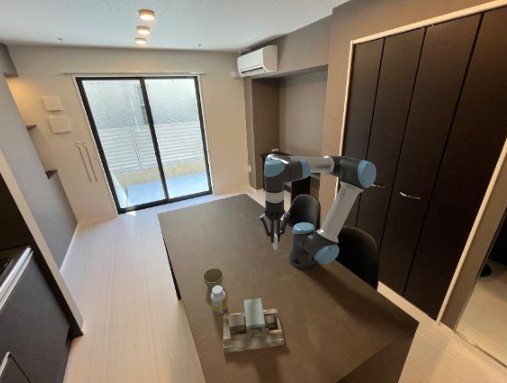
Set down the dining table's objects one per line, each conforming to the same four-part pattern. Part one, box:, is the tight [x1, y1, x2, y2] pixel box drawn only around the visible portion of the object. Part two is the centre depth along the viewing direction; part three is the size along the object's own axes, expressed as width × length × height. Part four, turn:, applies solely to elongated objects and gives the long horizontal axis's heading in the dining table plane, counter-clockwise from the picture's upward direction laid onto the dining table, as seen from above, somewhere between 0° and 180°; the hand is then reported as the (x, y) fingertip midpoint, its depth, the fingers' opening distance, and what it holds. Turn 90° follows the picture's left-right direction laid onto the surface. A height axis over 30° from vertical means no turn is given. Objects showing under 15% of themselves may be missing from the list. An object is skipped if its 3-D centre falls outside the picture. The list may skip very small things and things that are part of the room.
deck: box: [222, 297, 285, 354], centre depth 91 cm, size 23×14×12 cm, turn 97°
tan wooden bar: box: [229, 312, 276, 335], centre depth 91 cm, size 18×5×5 cm, turn 97°
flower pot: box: [202, 268, 224, 290], centre depth 115 cm, size 10×10×7 cm
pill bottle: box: [210, 285, 228, 315], centre depth 101 cm, size 6×6×12 cm
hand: (275, 247), depth 99 cm, fingers closed
